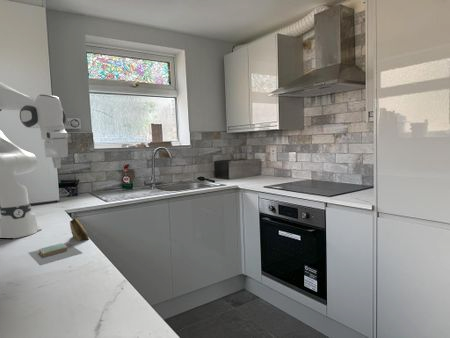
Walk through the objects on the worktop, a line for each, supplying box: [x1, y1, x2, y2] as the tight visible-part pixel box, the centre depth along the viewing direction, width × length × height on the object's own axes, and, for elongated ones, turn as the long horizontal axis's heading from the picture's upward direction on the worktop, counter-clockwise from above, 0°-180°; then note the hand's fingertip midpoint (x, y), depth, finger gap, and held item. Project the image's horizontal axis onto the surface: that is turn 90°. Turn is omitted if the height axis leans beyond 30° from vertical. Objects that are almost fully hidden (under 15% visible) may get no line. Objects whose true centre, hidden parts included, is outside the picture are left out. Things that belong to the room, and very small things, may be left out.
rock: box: [69, 217, 90, 242], centre depth 137 cm, size 11×9×10 cm
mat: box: [28, 242, 83, 266], centre depth 120 cm, size 19×14×1 cm
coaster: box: [38, 243, 67, 257], centre depth 121 cm, size 2×8×7 cm
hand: (57, 168), depth 132 cm, fingers closed
